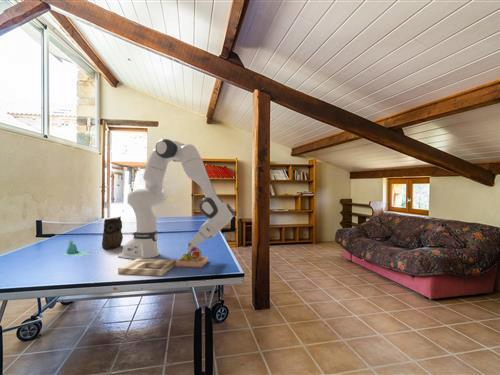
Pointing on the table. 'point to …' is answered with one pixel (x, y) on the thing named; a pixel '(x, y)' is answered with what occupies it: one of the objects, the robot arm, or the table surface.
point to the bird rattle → (193, 254)
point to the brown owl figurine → (112, 233)
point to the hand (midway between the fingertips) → (191, 247)
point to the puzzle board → (140, 264)
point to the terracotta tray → (191, 262)
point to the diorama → (75, 250)
